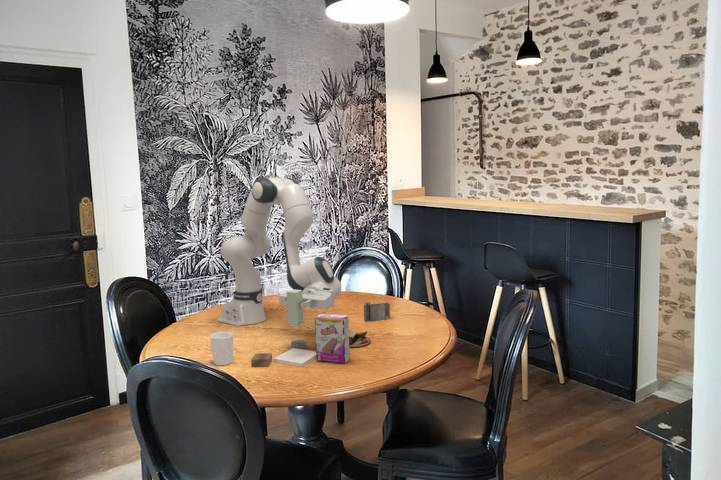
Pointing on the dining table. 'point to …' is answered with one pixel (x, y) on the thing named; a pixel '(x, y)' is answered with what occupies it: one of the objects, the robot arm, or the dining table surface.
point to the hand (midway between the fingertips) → (293, 305)
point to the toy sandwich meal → (358, 339)
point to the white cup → (222, 348)
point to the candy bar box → (332, 338)
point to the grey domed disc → (299, 344)
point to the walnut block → (261, 360)
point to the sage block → (294, 307)
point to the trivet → (296, 357)
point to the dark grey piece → (376, 311)
